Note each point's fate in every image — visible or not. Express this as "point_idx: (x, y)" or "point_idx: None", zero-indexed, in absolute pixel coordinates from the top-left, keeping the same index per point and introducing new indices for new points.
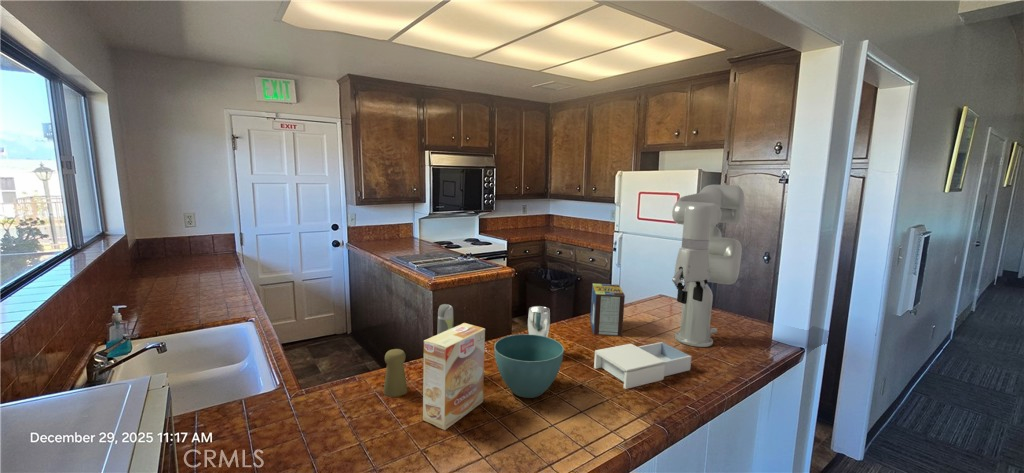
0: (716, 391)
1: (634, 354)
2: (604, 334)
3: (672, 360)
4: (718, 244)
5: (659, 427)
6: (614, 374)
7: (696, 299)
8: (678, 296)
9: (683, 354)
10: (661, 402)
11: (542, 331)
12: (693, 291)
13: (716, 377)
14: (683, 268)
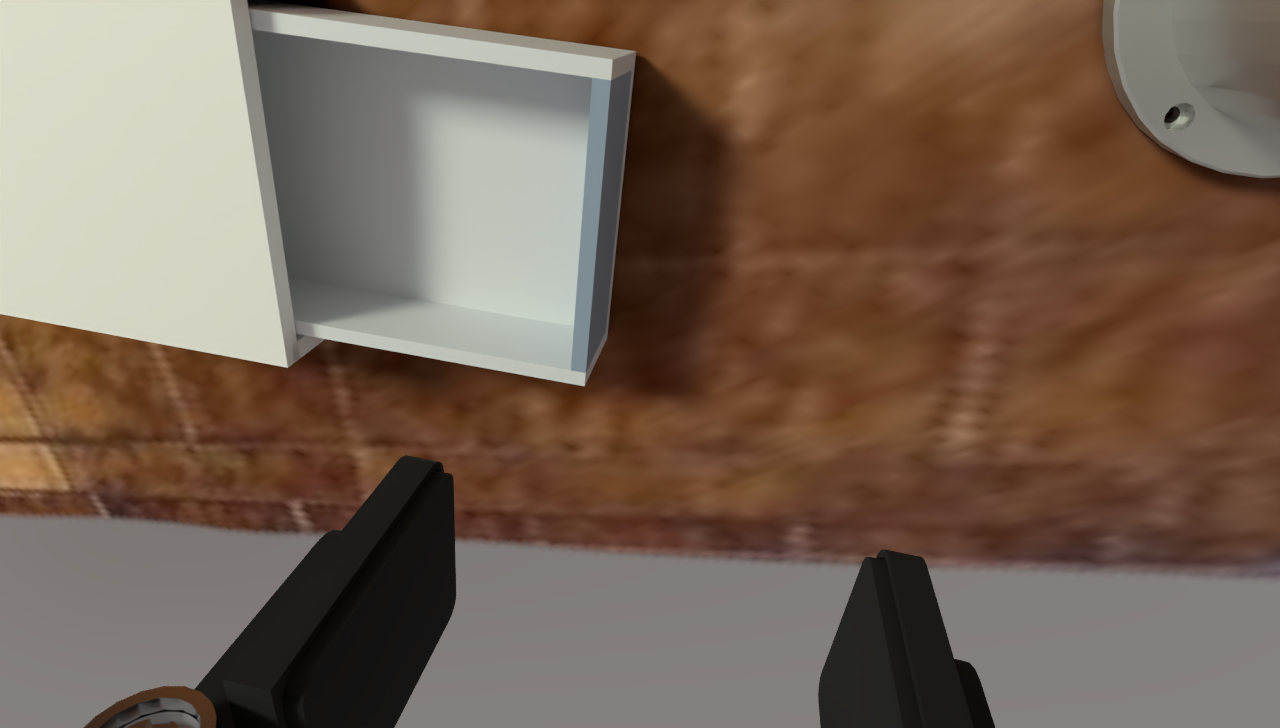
0: (525, 521)
1: (134, 171)
2: None
3: (394, 351)
4: None
5: (95, 513)
6: None
7: (841, 635)
8: (297, 583)
9: (575, 324)
10: (201, 432)
11: None
12: (893, 714)
13: (672, 461)
14: None
